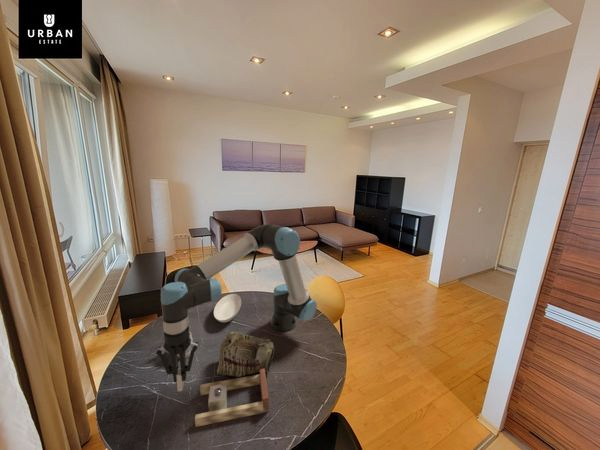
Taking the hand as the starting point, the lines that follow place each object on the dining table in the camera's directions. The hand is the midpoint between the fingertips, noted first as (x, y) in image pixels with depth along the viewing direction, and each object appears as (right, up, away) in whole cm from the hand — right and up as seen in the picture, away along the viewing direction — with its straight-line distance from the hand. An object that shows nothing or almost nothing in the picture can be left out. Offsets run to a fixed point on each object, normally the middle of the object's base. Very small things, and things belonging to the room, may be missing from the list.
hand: (180, 387), depth 87 cm
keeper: (+12, -10, +5) cm, 16 cm away
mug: (-15, -4, +31) cm, 34 cm away
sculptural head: (+18, -6, +23) cm, 30 cm away
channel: (+17, -10, +7) cm, 21 cm away
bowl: (-2, +2, +63) cm, 63 cm away
